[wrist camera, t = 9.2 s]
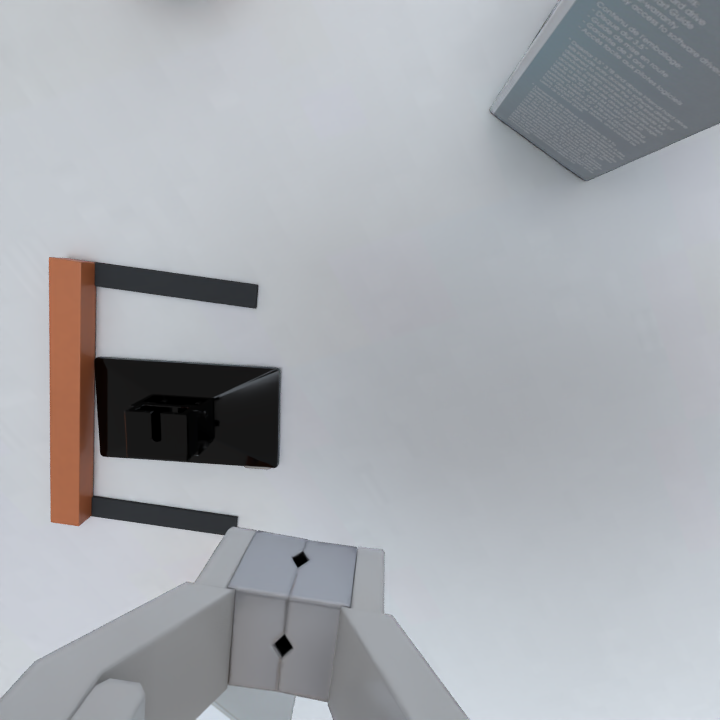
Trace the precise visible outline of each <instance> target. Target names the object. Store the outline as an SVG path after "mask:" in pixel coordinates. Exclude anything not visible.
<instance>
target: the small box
mask: <svg viewBox="0 0 720 720" xmlns="http://www.w3.org/2000/svg"><path fill="white" fill-rule="evenodd" d="M295 697H296V696H295V695H290V694H285V693H280V692H279V691H278V692H274V691H267V690H260V689H252V688H245V687H238V686H230V685H227V689H226V690H225V691H224V692H223V693H222V694H221V695H220V696H219V697H218V698H217V699H216V700H215V701H214V702H213V703H212V704H211V705H210V706H209V707H208V708H207V709H206V710H205V711H204V712H203V713H202V714H201V715H200V716H199V717H198V718H197V719H196V720H291V718H292V713H293V707H294V703H295Z"/></svg>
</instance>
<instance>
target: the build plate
mask: <svg viewBox="0 0 720 720" xmlns="http://www.w3.org/2000/svg"><path fill="white" fill-rule="evenodd" d="M94 366H95V381H96V396H97V411H98V425H99V440H100V453H101V455H102V456H104V457H119V458H134V459H149V460H164V461H179V462H193V463H208V464H223V465H238V466H244V467H246V468H255V469H270V468H276V467H277V466H278V464H279V422H280V369H279V368H273V367H257V366H240V365H224V364H208V363H192V362H176V361H159V360H143V359H127V358H111V357H98V358H95V360H94Z"/></svg>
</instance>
